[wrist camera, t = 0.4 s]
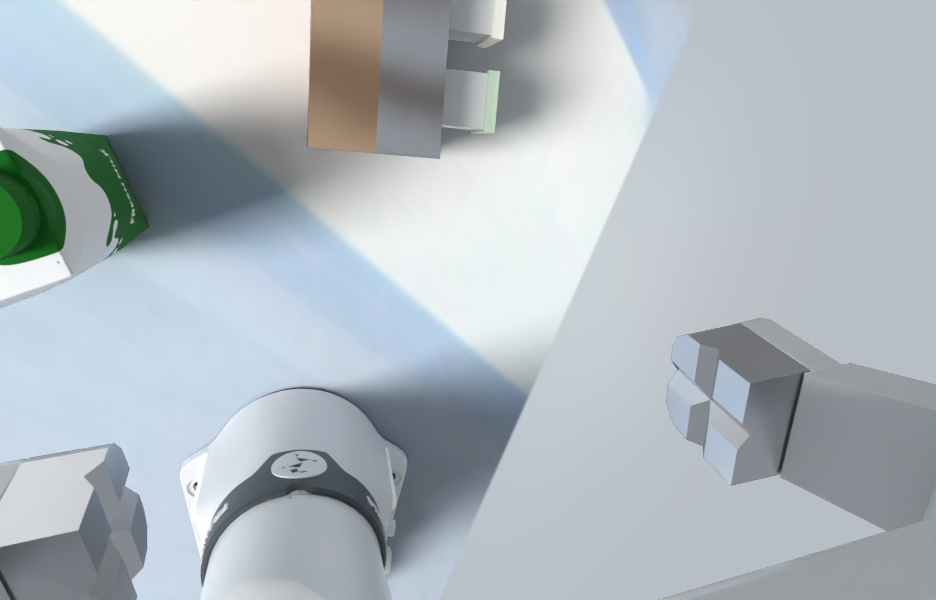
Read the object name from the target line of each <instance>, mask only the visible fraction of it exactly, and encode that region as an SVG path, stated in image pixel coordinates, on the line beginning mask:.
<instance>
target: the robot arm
mask: <svg viewBox="0 0 936 600" xmlns="http://www.w3.org/2000/svg"><path fill="white" fill-rule="evenodd" d="M671 361H672V362H673V364H674V365H675V367H676V368H677V369H678V370H677V372H676V373H675V374H674V376H673V377H672V378H671V380H670V381H669V383H668V388H667V400H666V402H667V406H668V410H669V414H670V418H671V419H672V421H673V423H674V425H675V427H676V428H677V430H678V431H679V432H680V433H681V434H682V435H683V436H684V437H685V438H686V439H687V440H690V441H692V442H694V443H697V444H699V445H702V446H703V457H704V458H705V459H706V461H707V462H708V463H709V464H710V465H711V466H712V467H713V468H714V469H715V470H716V471H717V472H718V473H719V474H720V475H721V476H722V477H723V478H724V479H725V480H726V481H727V482H728V483H729V484H730V485H731V486H732V485H736V484H740V483H745V482H749V481H753V480H758V479H762V478H767V477H771V476H776V475H780V474H781V475H780V477H781V478H783V479H785V480H787V481H789V482H791V483H793V484H795V485H797V486H799V487H801V488H803V489H805V490H807V491H809V492H811V493H813V494H815V495H816V496H819V497H820V498H822V499H825V500H826V501H828V502H830V503H833V504H834V505H836V506H838V507H840V508H842V509H844V510H846V511H848V512H850V513H852V514H854V515H856V516H858V517H860V518H862V519H864V520H866V521H868V522H870V523H872V524H874V525H876V526H878V527H880V528H882V529H884V530H886V531H887V532H883V533H880V534H877V535H873V536H870V537H866V538H863V539H860V540H857V541H853V542H850V543H847V544H843V545H840V546H836V547H833V548H830V549H827V550H823V551H820V552H816V553H813V554H810V555H807V556H803V557H800V558H797V559H793V560H790V561H786V562H783V563H780V564H776V565H773V566H770V567H766V568H763V569H760V570H756V571H753V572H750V573H746V574H743V575H740V576H736V577H733V578H730V579H727V580H723V581H720V582H717V583H713V584H709V585H706V586H703V587H700V588H696V589H693V590H690V591H686V592H683V593H679V594H676V595H673V596H669V597H666V598H663V599H659V600H936V384H932V383H928V382H924V381H920V380H916V379H912V378H908V377H904V376H900V375H896V374H892V373H888V372H884V371H880V370H876V369H872V368H868V367H864V366H860V365H856V364H852V363H848V364H843V365H842V364H840V363H839V362H837V361H835V360H834V359H832V358H831V357H829V356H827V355H826V354H824V353H823V352H821V351H819V350H818V349H816V348H815V347H813V346H811V345H810V344H808V343H807V342H805V341H803V340H802V339H800V338H798V337H797V336H795V335H794V334H792V333H791V332H789V331H788V330H786V329H784V328H783V327H781V326H780V325H778V324H776V323H775V322H773V321H772V320H769V319H763V318H758V319H754V320H749V321H745V322H741V323H737V324H733V325H730V326H725V327H720V328H716V329H711V330H706V331H702V332H697V333H692V334H687V335H682V336H678V337H677V339H676V340H675V342H674V344H673V347H672V354H671ZM129 469H130V468H129V466H128V463H127V461H126V458H125V456H124V453H123V451H122V448H120V447H119V446H118V445H116V444H115V443H113V444H107V445H101V446H95V447H89V448H84V449H78V450H72V451H66V452H60V453H55V454H49V455H43V456H37V457H31V458H29V459H19V460H14V461H9V462H4V463H0V600H136V599H137V594H136V592H135V589H134V586H133V584H132V581H131V580H132V579H133V578H134V577H135V575H136V574H137V573H138V572H139V571H140V570H141V569H142V568H143V567H144V562H145V557H146V552H147V523H146V518H145V512H144V508H143V505H142V502H141V499H140V496H139V494H137V493H135V492H134V491H132V490H130V489H129V488H127V487H125V483H126V479H127V476H128V472H129ZM406 471H407V457H406V455H405V453H404V452H403V451H402V450H401V449H399V448H398V447H397V446H395V445H393V444H392V443H390V442H388V441H387V440H385V439H383V438H382V437H381V436H380V435H379V433H378V432H377V431H376V429H375V428H374V426H373V425H372V423H371V422H370V420H369V419H368V418H367V416H366V415H365V414H364V413H363V412H362V411H361V410H360V409H358V408H357V407H356V406H355V405H353V404H352V403H350V402H349V401H347V400H345V399H343V398H341V397H339V396H337V395H334V394H331V393H328V392H324V391H320V390H313V389H291V390H284V391H279V392H275V393H272V394H269V395H266V396H264V397H261V398H259V399H257V400H255V401H253V402H252V403H250V404H248V405H247V406H245V407H244V408H243V409H241V410H240V411H239V412H238V413H237V414H235V415H234V416H233V417H232V418H231V419H230V420H229V422H228V423H227V424H226V425H225V427H224V428H223V429H222V431H221V432H220V433H219V435H218V436H217V437H216V438H215V440H214V441H213V442H212V443H211V444H209V445H208V446H206V447H204V448H203V449H201V450H199V451H197V452H196V453H194V454H193V455H191V456H190V457H189V458H187V459H186V460H185V461H184V463H183V464H182V466H181V471H180V480H181V484H182V487H183V491H184V495H185V499H186V503H187V507H188V511H189V515H190V518H191V522H192V526H193V530H194V534H195V538H196V542H197V545H198V549H199V553H200V557H201V561H202V565H201V582H202V588H203V589H202V593H201V597H200V600H393V599H392V596H391V593H390V590H389V586H388V583H387V579H386V574H388V573H389V571H390V567H391V559H392V552H391V548H390V547H389V546H386V542H387V538H388V537H393V536H394V534H395V529H396V521H395V520H394V519H393V517H394V513H395V510H396V506H397V503H398V499H399V496H400V492H401V488H402V485H403V481H404V478H405V474H406ZM392 473H394V474H395V475H394V476H393V474H392ZM196 482H198V484H197V486H196V485H195V484H194V483H196Z"/></svg>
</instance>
